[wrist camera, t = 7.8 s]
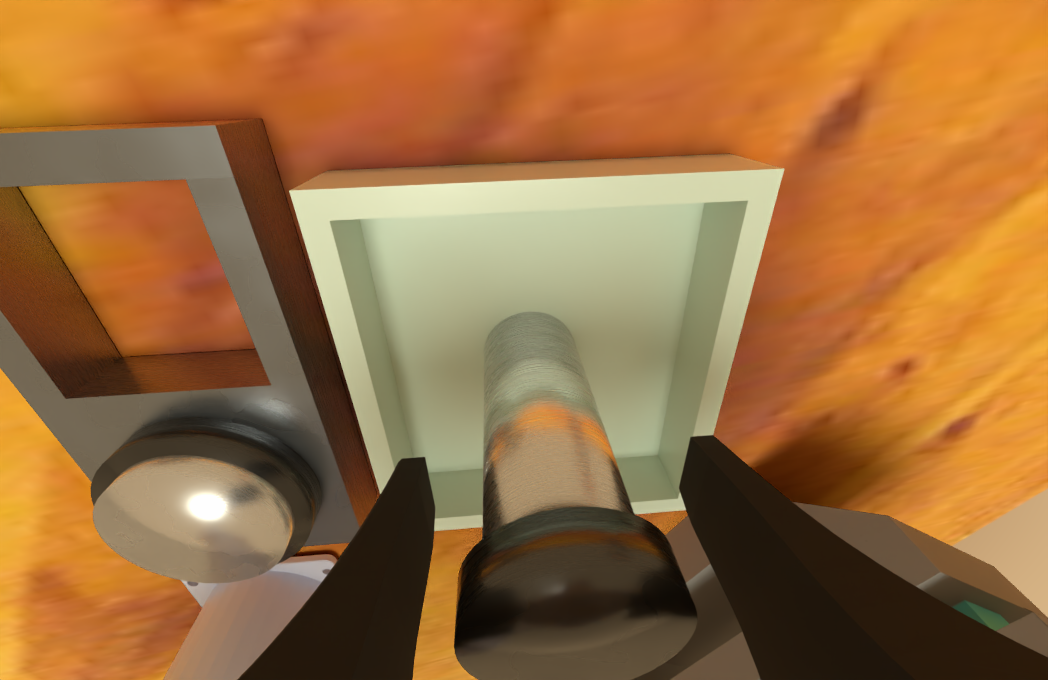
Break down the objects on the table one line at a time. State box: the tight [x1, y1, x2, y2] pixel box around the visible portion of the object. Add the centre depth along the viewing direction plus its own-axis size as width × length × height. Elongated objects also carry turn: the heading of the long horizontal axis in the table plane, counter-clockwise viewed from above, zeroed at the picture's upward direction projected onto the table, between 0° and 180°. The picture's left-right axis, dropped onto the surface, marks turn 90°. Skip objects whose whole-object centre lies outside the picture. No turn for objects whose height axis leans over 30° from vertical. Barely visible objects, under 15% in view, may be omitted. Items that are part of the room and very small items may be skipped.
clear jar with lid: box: [454, 312, 697, 680], centre depth 12 cm, size 5×5×10 cm
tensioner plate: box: [0, 119, 377, 583], centre depth 15 cm, size 16×9×4 cm, turn 2°
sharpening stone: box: [631, 502, 1048, 680], centre depth 22 cm, size 25×8×11 cm, turn 149°
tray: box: [289, 154, 784, 531], centre depth 16 cm, size 14×13×3 cm
